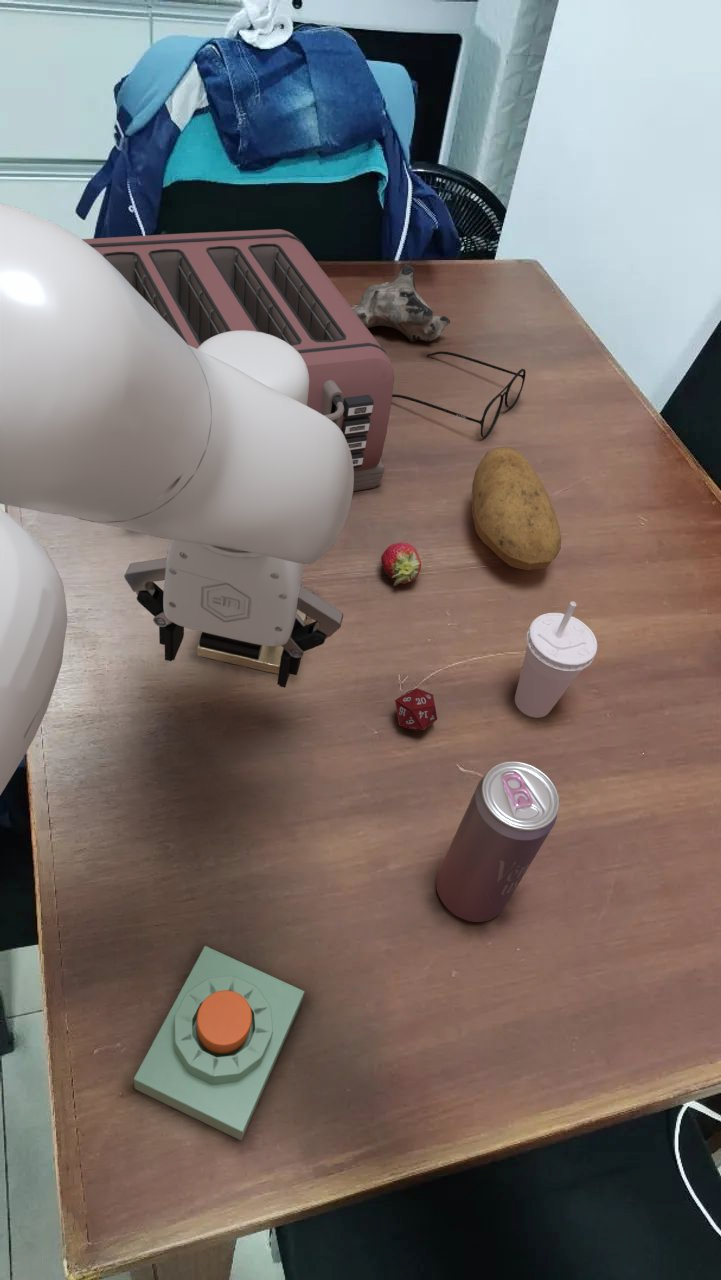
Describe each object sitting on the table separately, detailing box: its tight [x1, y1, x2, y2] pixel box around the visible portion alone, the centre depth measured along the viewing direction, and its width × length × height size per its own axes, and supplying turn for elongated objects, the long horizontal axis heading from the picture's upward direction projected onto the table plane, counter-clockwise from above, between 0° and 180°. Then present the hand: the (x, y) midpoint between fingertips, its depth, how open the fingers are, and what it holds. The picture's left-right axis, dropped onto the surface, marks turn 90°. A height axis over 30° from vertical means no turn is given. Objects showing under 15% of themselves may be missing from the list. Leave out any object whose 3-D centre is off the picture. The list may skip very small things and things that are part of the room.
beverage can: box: [435, 760, 560, 923], centre depth 70 cm, size 6×6×15 cm
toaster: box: [81, 228, 395, 492], centre depth 104 cm, size 30×36×17 cm
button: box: [197, 990, 252, 1054], centre depth 61 cm, size 4×4×2 cm
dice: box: [394, 687, 438, 732], centre depth 84 cm, size 4×4×4 cm
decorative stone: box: [350, 264, 451, 343], centre depth 129 cm, size 16×9×10 cm, turn 95°
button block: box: [133, 945, 305, 1141], centre depth 63 cm, size 10×8×4 cm
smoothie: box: [514, 601, 598, 719], centre depth 84 cm, size 6×6×14 cm
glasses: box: [392, 350, 527, 438], centre depth 122 cm, size 14×15×5 cm
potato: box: [471, 446, 562, 571], centre depth 101 cm, size 9×16×9 cm, turn 10°
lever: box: [198, 632, 262, 660], centre depth 79 cm, size 14×5×2 cm, turn 170°
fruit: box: [380, 542, 422, 586], centre depth 97 cm, size 4×6×5 cm
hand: (229, 661), depth 77 cm, fingers open, 9 cm apart
